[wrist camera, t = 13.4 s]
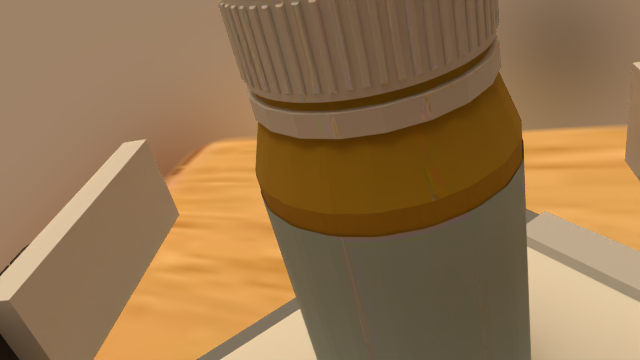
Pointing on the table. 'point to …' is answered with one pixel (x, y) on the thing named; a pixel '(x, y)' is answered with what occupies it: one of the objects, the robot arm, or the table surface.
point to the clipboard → (544, 302)
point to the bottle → (390, 173)
